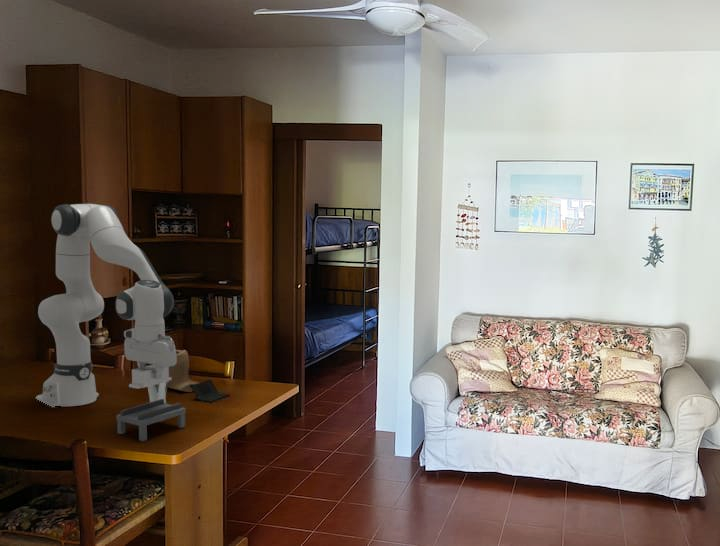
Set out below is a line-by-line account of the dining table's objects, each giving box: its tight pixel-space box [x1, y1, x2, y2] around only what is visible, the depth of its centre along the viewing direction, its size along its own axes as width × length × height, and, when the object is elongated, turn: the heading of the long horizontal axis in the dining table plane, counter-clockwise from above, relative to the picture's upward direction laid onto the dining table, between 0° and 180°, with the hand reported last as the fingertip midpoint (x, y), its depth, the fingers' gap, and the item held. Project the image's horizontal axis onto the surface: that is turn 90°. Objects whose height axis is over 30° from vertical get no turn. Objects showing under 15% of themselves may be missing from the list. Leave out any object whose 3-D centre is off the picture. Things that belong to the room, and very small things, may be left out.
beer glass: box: [147, 381, 169, 404], centre depth 240 cm, size 7×7×15 cm
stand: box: [115, 399, 187, 442], centre depth 219 cm, size 12×17×8 cm
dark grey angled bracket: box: [191, 379, 230, 404], centre depth 256 cm, size 12×7×10 cm
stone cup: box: [167, 349, 199, 393], centre depth 267 cm, size 15×12×15 cm
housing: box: [128, 364, 172, 390], centre depth 217 cm, size 13×5×5 cm, turn 147°
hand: (151, 377), depth 217 cm, fingers closed on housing, 5 cm apart
